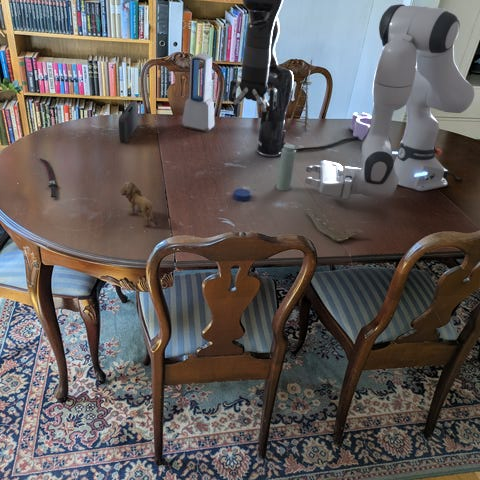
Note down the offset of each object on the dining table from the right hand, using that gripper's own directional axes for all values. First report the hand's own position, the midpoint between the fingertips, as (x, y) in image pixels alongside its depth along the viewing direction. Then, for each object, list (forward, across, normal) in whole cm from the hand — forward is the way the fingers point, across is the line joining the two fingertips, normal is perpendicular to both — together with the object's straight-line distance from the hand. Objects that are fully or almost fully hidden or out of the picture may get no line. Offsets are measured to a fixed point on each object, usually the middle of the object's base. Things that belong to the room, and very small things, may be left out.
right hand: (306, 174), depth 158 cm
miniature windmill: (+4, -65, +6) cm, 66 cm away
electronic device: (+47, -46, +6) cm, 66 cm away
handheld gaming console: (+72, -29, +6) cm, 78 cm away
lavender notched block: (-27, -67, +6) cm, 73 cm away
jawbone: (-9, +22, +6) cm, 25 cm away
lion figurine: (+47, +33, +6) cm, 58 cm away
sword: (+83, +18, +6) cm, 85 cm away
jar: (+7, 0, +6) cm, 9 cm away
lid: (+20, +12, +5) cm, 24 cm away
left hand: (+20, +12, -20) cm, 30 cm away
